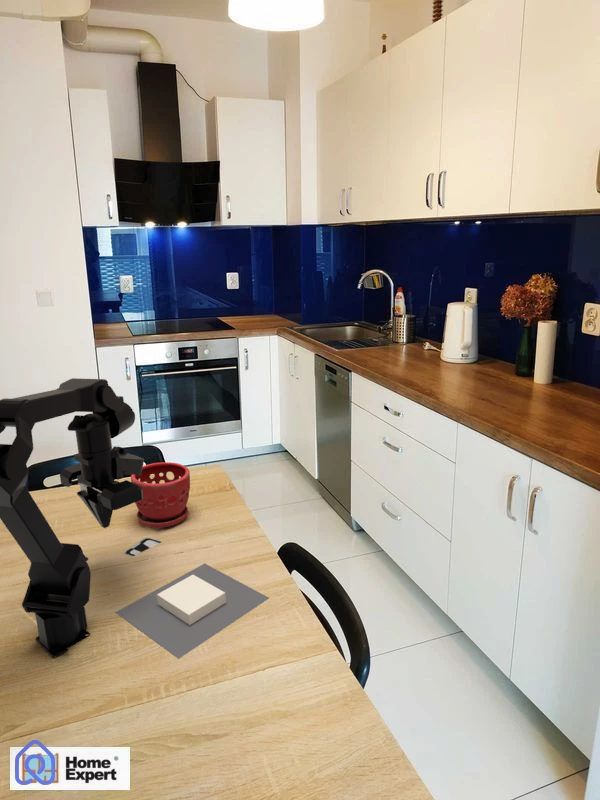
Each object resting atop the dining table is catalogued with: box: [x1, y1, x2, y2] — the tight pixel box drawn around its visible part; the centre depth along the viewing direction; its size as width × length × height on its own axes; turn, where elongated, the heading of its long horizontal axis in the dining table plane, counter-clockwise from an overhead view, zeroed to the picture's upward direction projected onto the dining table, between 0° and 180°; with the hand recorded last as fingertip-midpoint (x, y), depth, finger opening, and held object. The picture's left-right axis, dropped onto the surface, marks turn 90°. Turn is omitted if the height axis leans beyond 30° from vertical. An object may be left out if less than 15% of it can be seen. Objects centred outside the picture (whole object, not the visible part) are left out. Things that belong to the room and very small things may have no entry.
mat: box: [114, 563, 270, 660], centre depth 102 cm, size 20×18×1 cm
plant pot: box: [130, 461, 191, 529], centre depth 133 cm, size 13×13×12 cm
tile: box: [157, 575, 226, 625], centre depth 102 cm, size 8×2×9 cm
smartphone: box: [124, 537, 162, 557], centre depth 119 cm, size 7×1×15 cm
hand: (105, 526), depth 107 cm, fingers closed
